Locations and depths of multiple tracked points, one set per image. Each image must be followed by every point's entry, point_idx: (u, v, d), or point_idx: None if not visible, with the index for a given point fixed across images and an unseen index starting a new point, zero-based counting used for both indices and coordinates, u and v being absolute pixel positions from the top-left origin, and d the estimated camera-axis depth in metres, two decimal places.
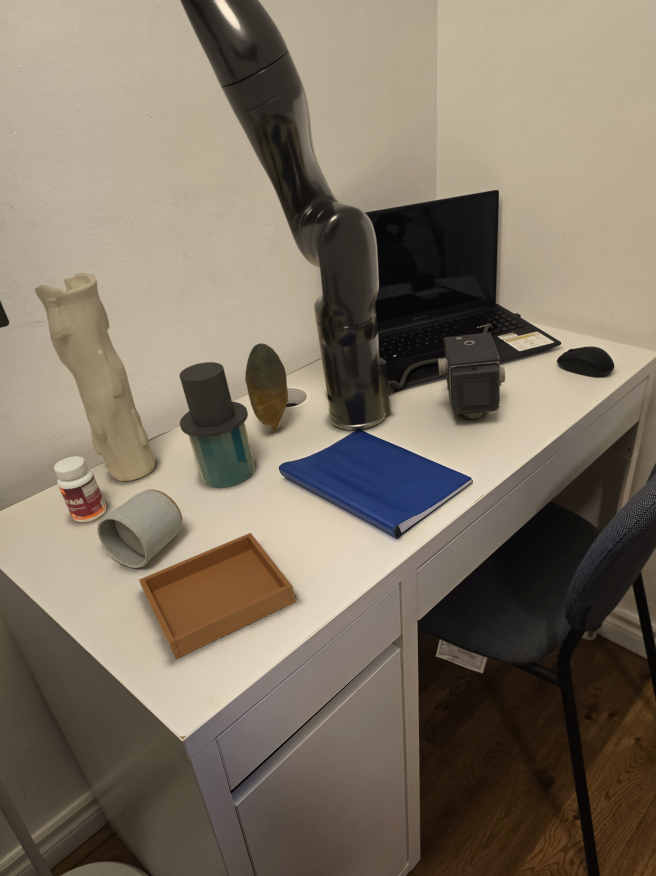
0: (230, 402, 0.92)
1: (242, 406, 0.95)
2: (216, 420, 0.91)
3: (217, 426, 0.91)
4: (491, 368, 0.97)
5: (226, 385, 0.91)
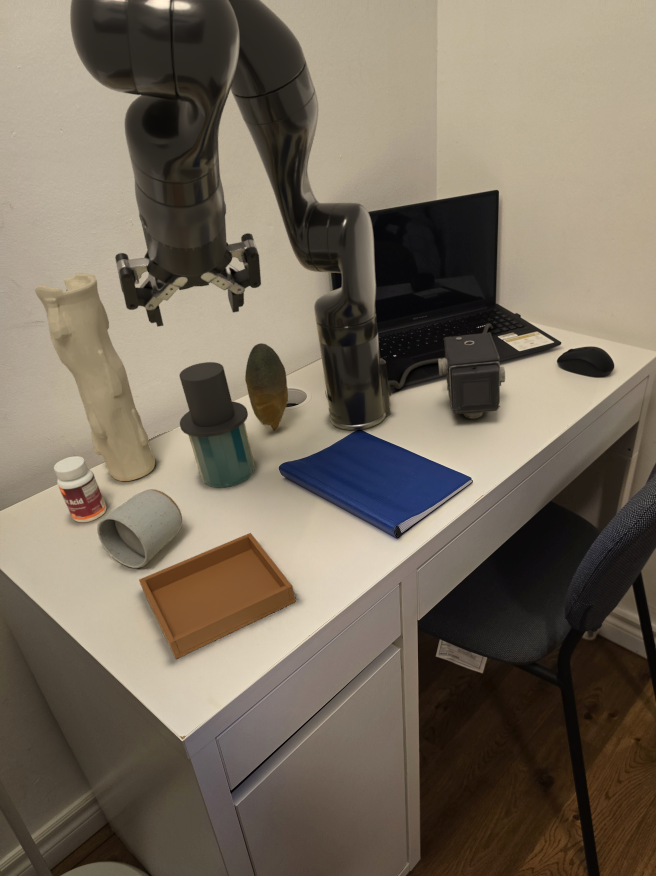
0: (230, 402, 0.92)
1: (242, 406, 0.95)
2: (216, 420, 0.91)
3: (217, 426, 0.91)
4: (491, 368, 0.97)
5: (226, 385, 0.91)
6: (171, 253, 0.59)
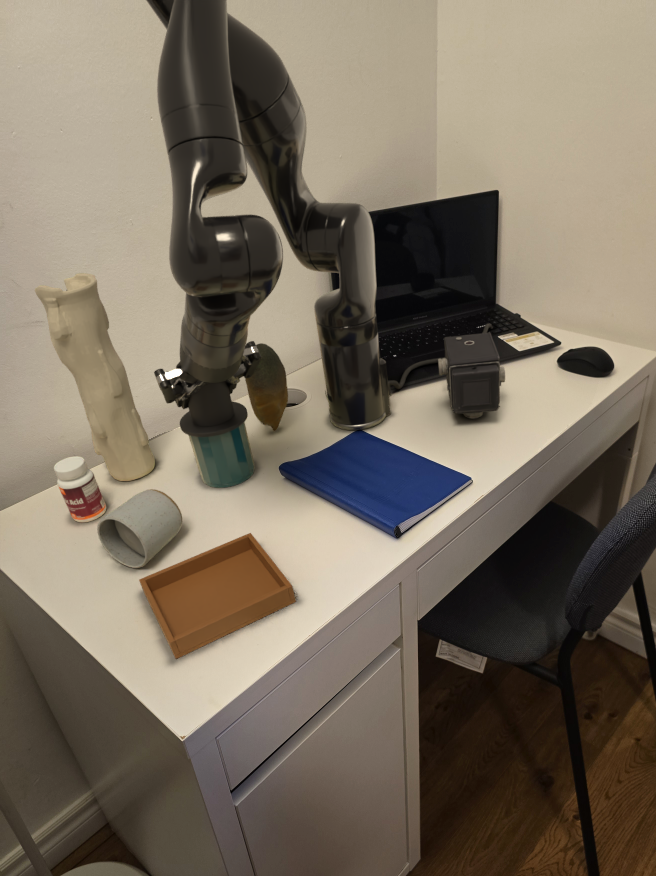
0: (230, 402, 0.92)
1: (242, 406, 0.95)
2: (216, 420, 0.91)
3: (216, 426, 0.91)
4: (491, 368, 0.97)
5: (226, 385, 0.91)
6: (208, 371, 0.78)
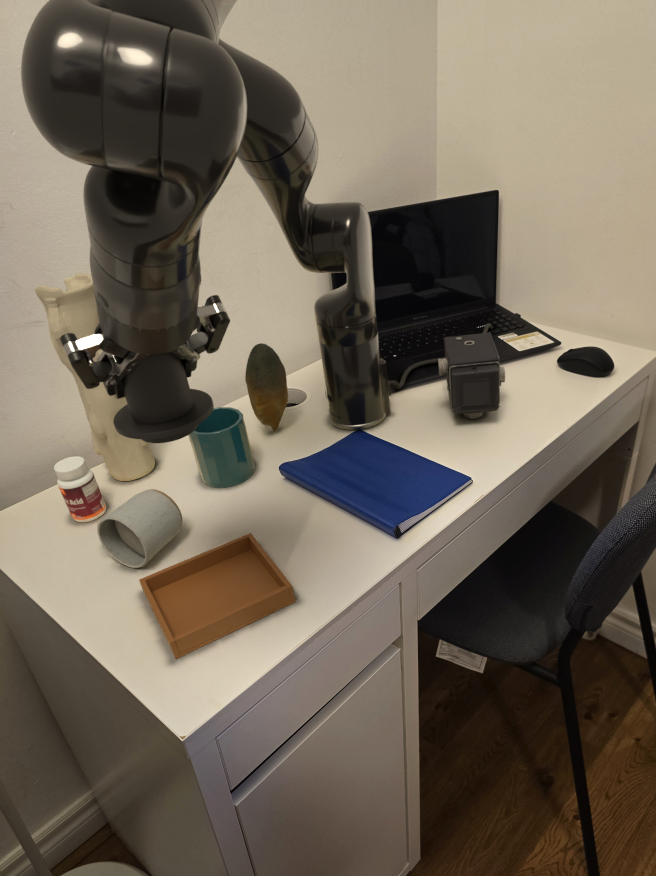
0: (186, 389, 0.63)
1: (206, 395, 0.66)
2: (165, 415, 0.62)
3: (166, 423, 0.62)
4: (491, 368, 0.97)
5: (180, 363, 0.62)
6: (139, 335, 0.49)
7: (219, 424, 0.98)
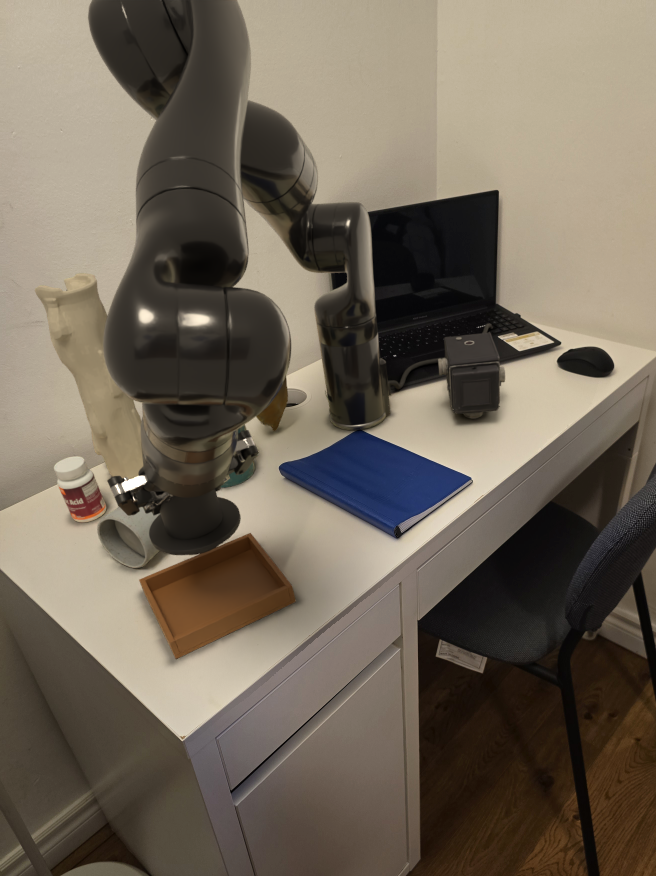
0: (217, 505, 0.68)
1: (233, 506, 0.72)
2: (197, 531, 0.67)
3: (198, 539, 0.67)
4: (491, 368, 0.97)
5: None
6: (182, 487, 0.54)
7: None
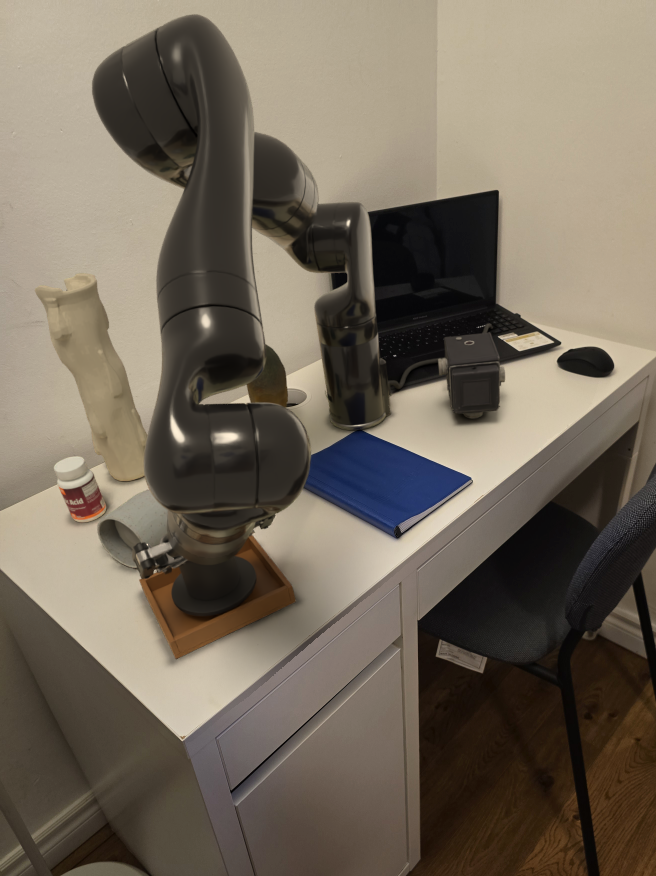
0: (234, 568, 0.73)
1: (249, 565, 0.77)
2: (217, 593, 0.72)
3: (218, 600, 0.72)
4: (491, 368, 0.97)
5: None
6: (204, 559, 0.58)
7: None
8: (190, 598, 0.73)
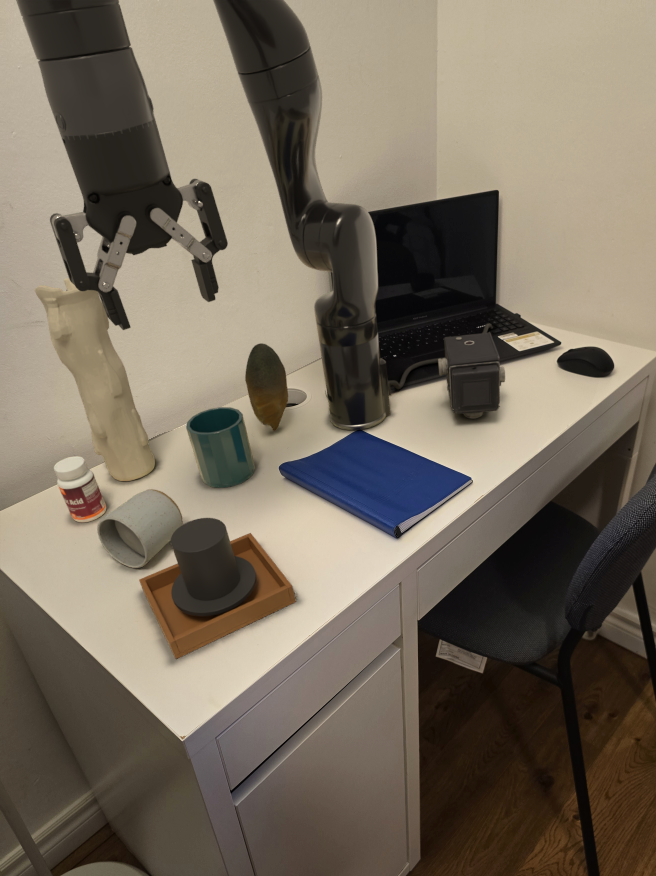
0: (234, 568, 0.73)
1: (249, 565, 0.77)
2: (217, 593, 0.72)
3: (218, 600, 0.72)
4: (491, 368, 0.97)
5: (230, 549, 0.72)
6: (99, 148, 0.51)
7: (219, 424, 0.98)
8: (190, 598, 0.73)
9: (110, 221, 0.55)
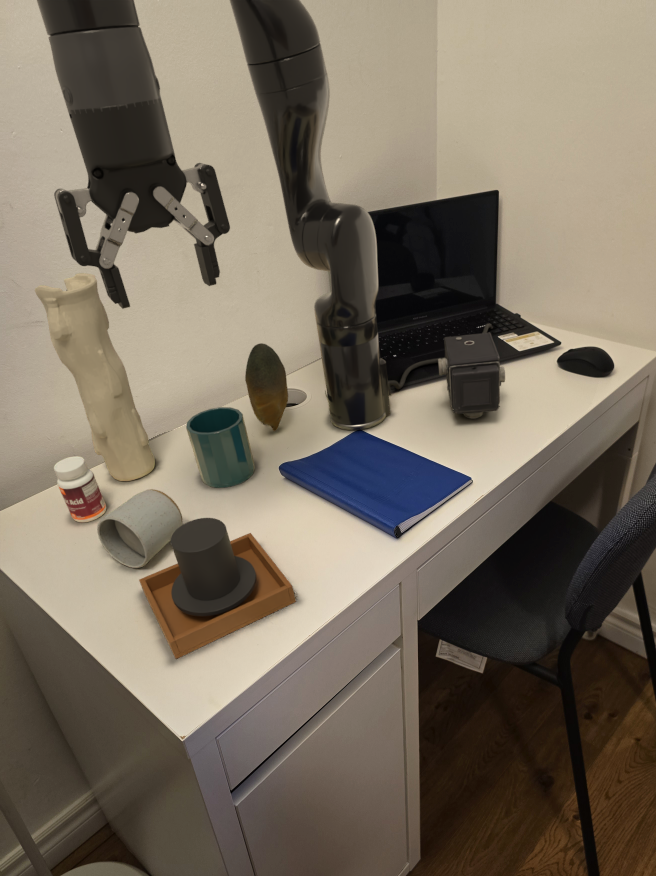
0: (234, 568, 0.73)
1: (249, 565, 0.77)
2: (217, 593, 0.72)
3: (218, 600, 0.72)
4: (491, 368, 0.97)
5: (230, 549, 0.72)
6: (104, 121, 0.52)
7: (219, 424, 0.98)
8: (190, 598, 0.73)
9: (113, 197, 0.56)
